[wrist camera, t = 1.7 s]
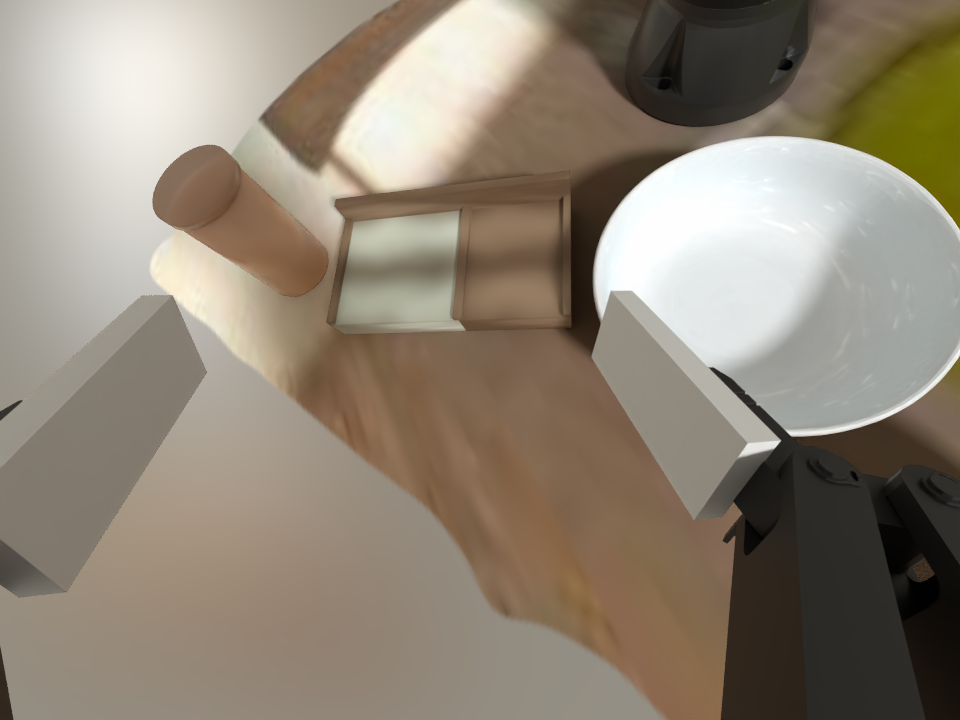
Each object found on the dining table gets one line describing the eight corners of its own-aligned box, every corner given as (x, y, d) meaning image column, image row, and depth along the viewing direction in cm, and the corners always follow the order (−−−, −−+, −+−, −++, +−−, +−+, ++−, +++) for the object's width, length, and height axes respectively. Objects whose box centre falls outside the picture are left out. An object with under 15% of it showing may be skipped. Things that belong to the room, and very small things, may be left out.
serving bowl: (543, 287, 35) (536, 243, 29) (747, 160, 35) (785, 86, 28) (700, 501, 28) (737, 506, 21) (969, 345, 27) (1091, 302, 20)
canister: (278, 241, 45) (168, 151, 33) (335, 235, 43) (240, 138, 31) (264, 299, 43) (140, 226, 31) (323, 296, 41) (216, 217, 29)
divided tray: (362, 230, 42) (335, 199, 38) (571, 209, 37) (569, 170, 32) (344, 334, 39) (312, 314, 34) (571, 327, 34) (570, 302, 29)
